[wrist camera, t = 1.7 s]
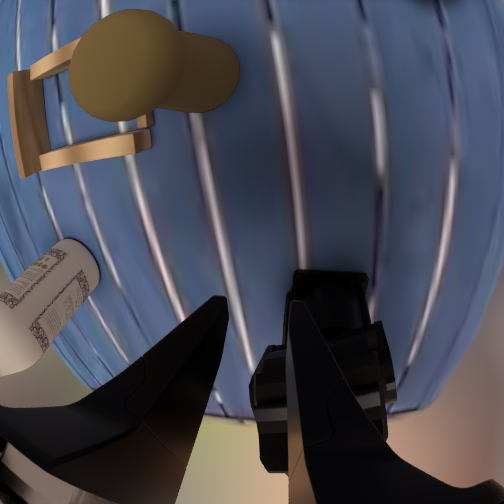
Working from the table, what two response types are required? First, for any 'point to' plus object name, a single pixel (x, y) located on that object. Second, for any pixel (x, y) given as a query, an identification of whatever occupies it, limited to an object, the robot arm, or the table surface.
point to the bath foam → (43, 303)
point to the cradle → (35, 128)
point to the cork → (149, 68)
